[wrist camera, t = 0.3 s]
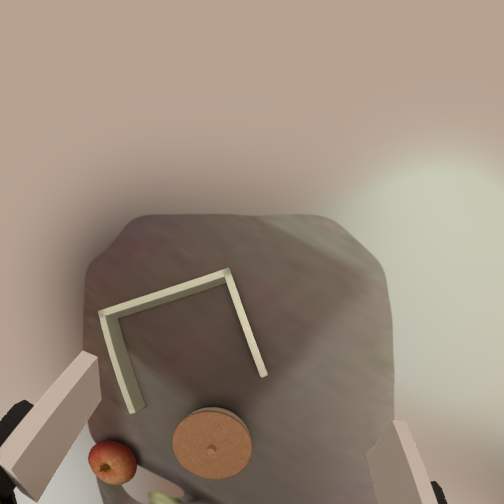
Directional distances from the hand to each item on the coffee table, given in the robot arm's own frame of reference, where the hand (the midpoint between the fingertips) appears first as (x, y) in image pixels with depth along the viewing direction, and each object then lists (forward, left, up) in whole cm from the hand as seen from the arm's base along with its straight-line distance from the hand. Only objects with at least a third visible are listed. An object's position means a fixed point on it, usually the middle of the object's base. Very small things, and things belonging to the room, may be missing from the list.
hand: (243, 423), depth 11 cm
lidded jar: (-10, +8, -34) cm, 36 cm away
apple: (-11, +26, -34) cm, 44 cm away
